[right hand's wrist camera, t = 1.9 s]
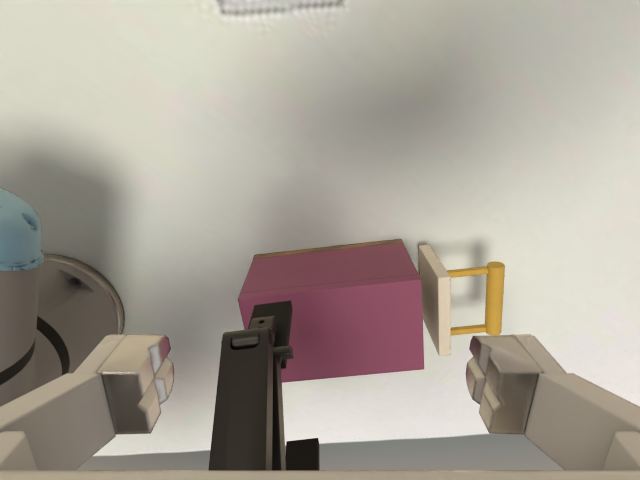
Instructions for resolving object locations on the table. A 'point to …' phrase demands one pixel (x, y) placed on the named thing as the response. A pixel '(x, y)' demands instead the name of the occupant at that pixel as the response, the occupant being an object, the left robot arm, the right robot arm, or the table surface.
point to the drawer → (439, 299)
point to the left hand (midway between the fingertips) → (289, 379)
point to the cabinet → (343, 308)
